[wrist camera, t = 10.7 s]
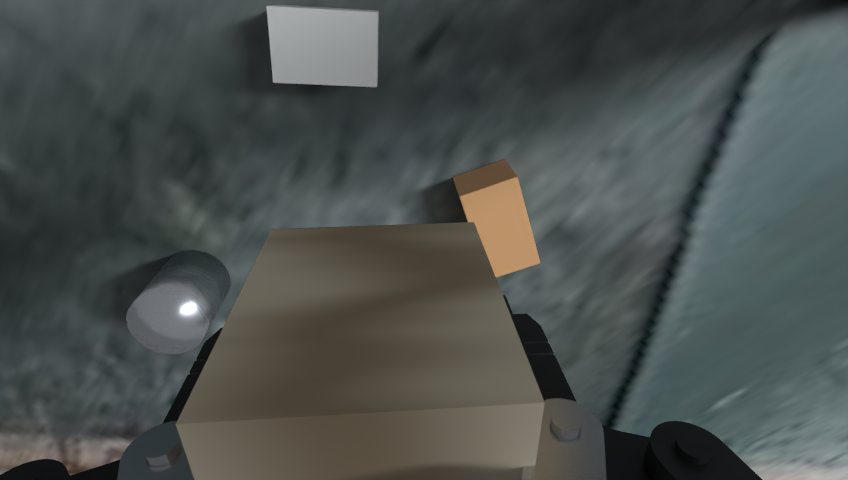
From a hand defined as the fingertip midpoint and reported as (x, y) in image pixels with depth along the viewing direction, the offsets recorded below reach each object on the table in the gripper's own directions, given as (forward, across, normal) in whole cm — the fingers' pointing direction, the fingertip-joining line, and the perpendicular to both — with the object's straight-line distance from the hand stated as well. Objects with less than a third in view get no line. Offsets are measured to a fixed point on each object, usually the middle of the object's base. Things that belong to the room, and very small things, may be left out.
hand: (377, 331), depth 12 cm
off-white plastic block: (+23, +3, -5) cm, 24 cm away
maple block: (+1, 0, 0) cm, 1 cm away
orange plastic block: (+24, -8, +7) cm, 26 cm away
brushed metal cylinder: (+23, +15, +12) cm, 30 cm away
